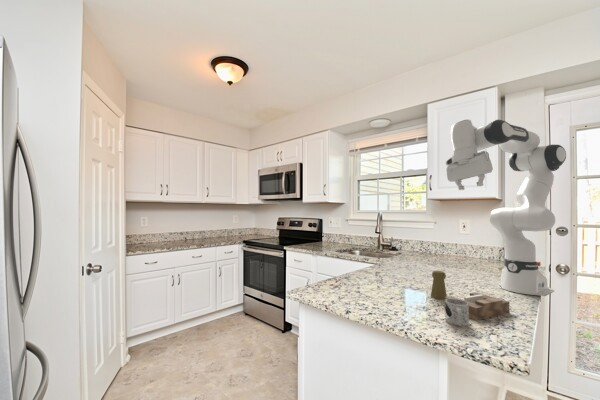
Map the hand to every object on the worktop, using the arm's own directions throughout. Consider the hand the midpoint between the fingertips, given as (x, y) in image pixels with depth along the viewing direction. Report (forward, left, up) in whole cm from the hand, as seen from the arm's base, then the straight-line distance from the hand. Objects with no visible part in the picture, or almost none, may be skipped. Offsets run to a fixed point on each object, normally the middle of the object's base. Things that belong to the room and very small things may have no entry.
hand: (470, 188), depth 115 cm
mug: (+31, +17, -47) cm, 59 cm away
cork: (+13, -5, -47) cm, 49 cm away
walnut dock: (+13, +11, -47) cm, 49 cm away
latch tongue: (+13, +10, -46) cm, 49 cm away
